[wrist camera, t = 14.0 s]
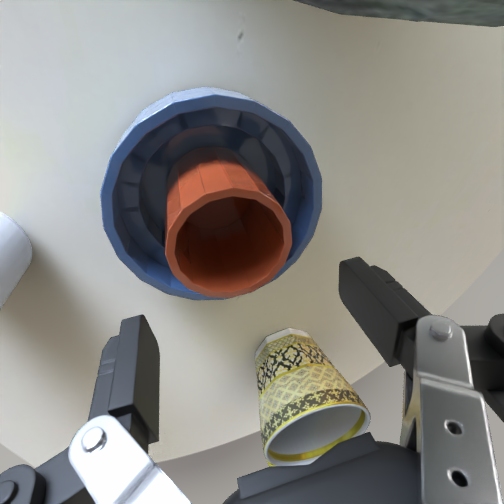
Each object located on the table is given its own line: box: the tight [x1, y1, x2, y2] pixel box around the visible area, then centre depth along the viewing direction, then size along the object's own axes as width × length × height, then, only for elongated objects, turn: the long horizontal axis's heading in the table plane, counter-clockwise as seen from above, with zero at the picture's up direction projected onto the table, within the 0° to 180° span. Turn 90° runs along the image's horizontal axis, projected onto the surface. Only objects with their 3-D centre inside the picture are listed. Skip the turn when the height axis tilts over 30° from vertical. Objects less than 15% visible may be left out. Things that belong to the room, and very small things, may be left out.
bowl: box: [100, 87, 322, 300], centre depth 20 cm, size 13×13×5 cm
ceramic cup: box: [255, 328, 370, 467], centre depth 31 cm, size 13×10×10 cm
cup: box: [165, 146, 292, 298], centre depth 19 cm, size 6×6×8 cm
